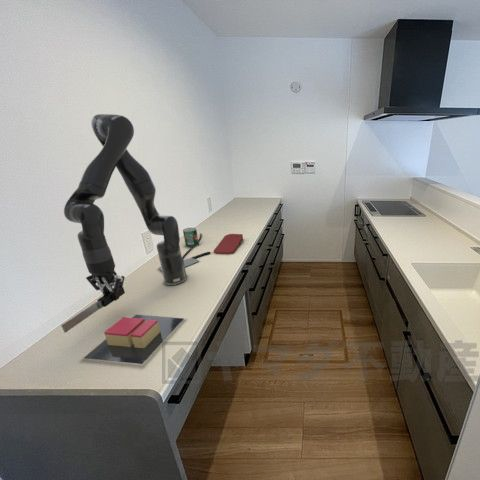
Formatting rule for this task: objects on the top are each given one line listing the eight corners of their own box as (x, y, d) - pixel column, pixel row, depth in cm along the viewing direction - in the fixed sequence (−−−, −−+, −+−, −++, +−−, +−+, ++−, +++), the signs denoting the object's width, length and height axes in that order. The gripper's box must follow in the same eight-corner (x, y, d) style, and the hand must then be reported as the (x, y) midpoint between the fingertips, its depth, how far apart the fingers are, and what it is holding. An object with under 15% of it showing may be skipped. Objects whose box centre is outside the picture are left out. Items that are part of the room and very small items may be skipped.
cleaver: (217, 256, 156) (208, 251, 162) (217, 255, 156) (208, 251, 162) (165, 274, 135) (157, 268, 140) (165, 273, 134) (157, 267, 140)
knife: (119, 292, 103) (117, 286, 102) (125, 293, 103) (123, 286, 102) (61, 332, 82) (58, 324, 81) (68, 332, 82) (65, 325, 81)
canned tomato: (184, 245, 172) (181, 229, 168) (196, 242, 177) (194, 226, 173) (187, 248, 166) (184, 232, 162) (200, 245, 171) (198, 229, 167)
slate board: (136, 316, 103) (135, 314, 103) (184, 320, 101) (184, 318, 101) (84, 360, 83) (83, 358, 82) (143, 366, 81) (142, 364, 80)
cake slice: (151, 331, 94) (148, 319, 92) (160, 331, 94) (157, 319, 92) (134, 347, 87) (130, 334, 85) (144, 348, 86) (140, 335, 84)
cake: (126, 328, 95) (123, 317, 93) (147, 330, 94) (144, 318, 92) (108, 345, 88) (103, 332, 86) (130, 347, 87) (126, 334, 85)
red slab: (233, 259, 161) (245, 239, 183) (232, 252, 159) (244, 232, 180) (214, 258, 161) (228, 238, 183) (212, 251, 159) (227, 232, 181)
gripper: (125, 254, 95) (137, 295, 102) (90, 252, 96) (104, 292, 103) (107, 264, 88) (121, 306, 95) (70, 261, 90) (86, 303, 96)
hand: (112, 299), depth 99 cm, fingers closed on knife, 2 cm apart
